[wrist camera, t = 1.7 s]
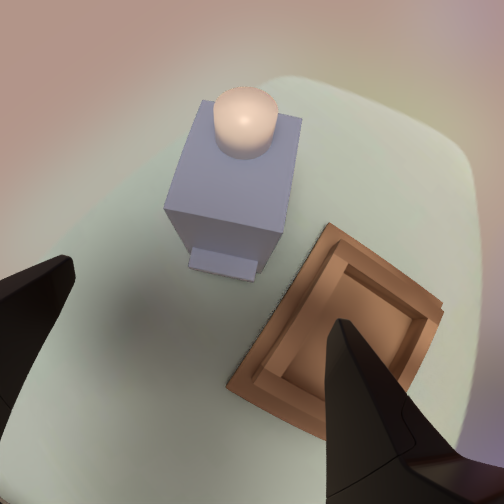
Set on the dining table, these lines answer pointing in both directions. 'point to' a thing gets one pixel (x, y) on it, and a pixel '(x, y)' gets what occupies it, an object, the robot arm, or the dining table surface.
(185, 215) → the block
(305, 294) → the wooden socket base
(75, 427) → the dining table surface
